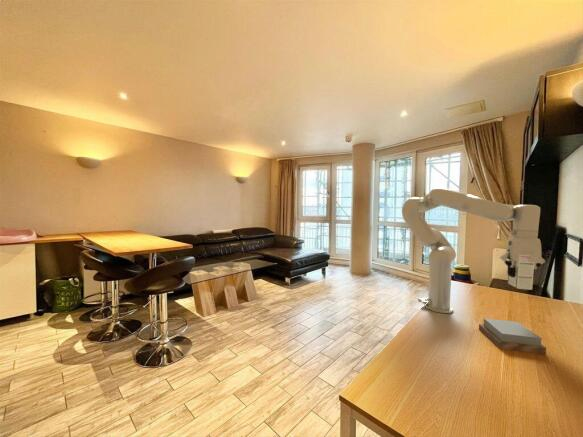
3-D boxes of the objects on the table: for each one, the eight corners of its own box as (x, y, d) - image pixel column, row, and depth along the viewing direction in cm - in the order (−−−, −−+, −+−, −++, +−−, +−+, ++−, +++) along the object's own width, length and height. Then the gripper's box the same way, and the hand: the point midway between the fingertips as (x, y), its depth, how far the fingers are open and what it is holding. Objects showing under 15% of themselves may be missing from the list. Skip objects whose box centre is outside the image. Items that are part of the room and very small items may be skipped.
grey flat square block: (499, 350, 87) (500, 342, 87) (478, 330, 101) (479, 323, 101) (545, 356, 84) (546, 347, 84) (517, 335, 98) (518, 328, 97)
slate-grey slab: (501, 341, 88) (502, 333, 87) (483, 325, 99) (483, 318, 99) (540, 346, 85) (541, 338, 85) (517, 329, 96) (517, 321, 96)
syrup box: (532, 290, 96) (536, 255, 95) (516, 288, 97) (519, 254, 96) (522, 285, 102) (525, 252, 101) (506, 284, 103) (509, 251, 102)
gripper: (506, 234, 96) (502, 277, 97) (557, 237, 92) (552, 282, 94) (494, 232, 103) (491, 272, 105) (542, 234, 100) (537, 276, 101)
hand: (520, 276), depth 99 cm, fingers closed on syrup box, 5 cm apart
